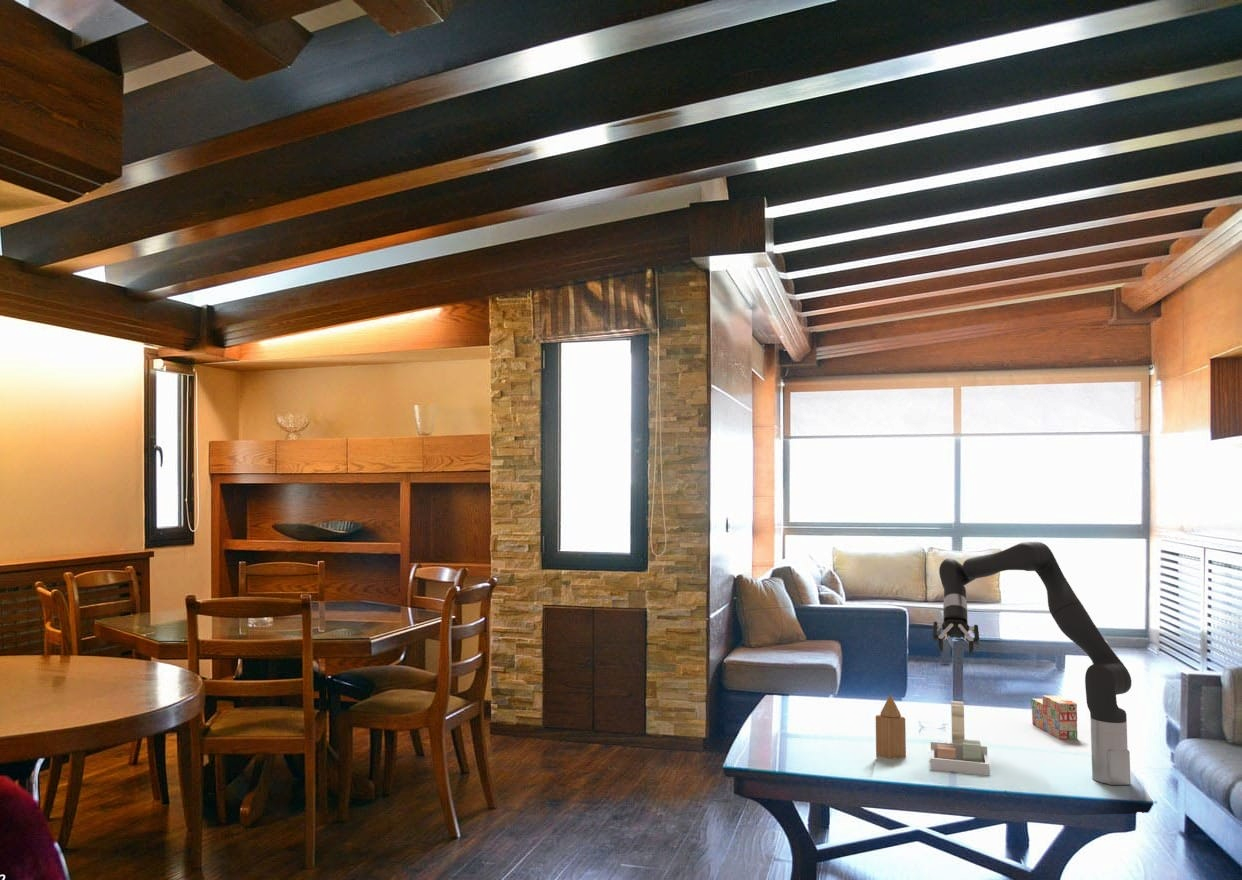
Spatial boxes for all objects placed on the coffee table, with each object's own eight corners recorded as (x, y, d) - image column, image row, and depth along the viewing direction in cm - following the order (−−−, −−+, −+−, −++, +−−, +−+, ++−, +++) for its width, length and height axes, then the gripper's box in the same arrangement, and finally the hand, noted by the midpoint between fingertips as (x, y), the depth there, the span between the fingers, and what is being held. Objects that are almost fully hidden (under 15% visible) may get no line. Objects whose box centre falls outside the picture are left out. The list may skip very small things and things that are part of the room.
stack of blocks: (1031, 724, 323) (1030, 689, 324) (1049, 724, 323) (1048, 689, 324) (1059, 739, 302) (1058, 702, 303) (1078, 739, 302) (1077, 702, 303)
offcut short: (955, 767, 263) (955, 749, 263) (937, 765, 265) (937, 748, 265) (955, 762, 268) (955, 745, 268) (937, 761, 269) (937, 744, 270)
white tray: (989, 780, 256) (989, 757, 256) (930, 774, 261) (930, 751, 261) (985, 758, 278) (985, 736, 279) (931, 753, 283) (930, 732, 284)
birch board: (964, 760, 270) (963, 706, 272) (952, 759, 272) (951, 705, 273) (964, 754, 277) (963, 701, 278) (952, 753, 278) (951, 700, 279)
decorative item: (906, 761, 274) (905, 695, 276) (890, 763, 271) (889, 696, 273) (891, 755, 280) (890, 691, 282) (875, 758, 277) (874, 692, 279)
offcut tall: (981, 770, 260) (980, 745, 261) (963, 768, 262) (962, 744, 262) (980, 764, 266) (980, 740, 266) (962, 763, 267) (962, 739, 268)
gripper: (932, 602, 298) (932, 643, 287) (978, 605, 293) (980, 647, 282) (932, 615, 303) (932, 656, 292) (977, 619, 298) (979, 660, 287)
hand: (955, 651), depth 287 cm, fingers open, 8 cm apart
